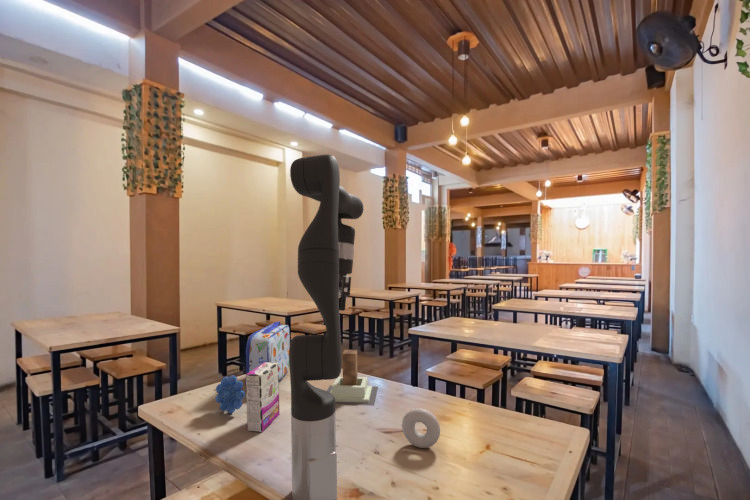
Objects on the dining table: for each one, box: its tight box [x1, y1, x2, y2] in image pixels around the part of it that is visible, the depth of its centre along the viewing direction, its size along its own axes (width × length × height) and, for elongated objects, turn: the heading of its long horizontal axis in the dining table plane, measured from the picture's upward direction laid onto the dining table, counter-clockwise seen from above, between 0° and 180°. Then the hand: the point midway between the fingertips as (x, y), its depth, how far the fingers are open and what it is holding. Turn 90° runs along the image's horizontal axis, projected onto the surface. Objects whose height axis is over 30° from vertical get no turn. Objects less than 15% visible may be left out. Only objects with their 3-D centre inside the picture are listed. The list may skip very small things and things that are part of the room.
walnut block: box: [342, 349, 358, 386], centre depth 128 cm, size 4×4×14 cm
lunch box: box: [244, 320, 291, 385], centre depth 143 cm, size 28×10×22 cm, turn 176°
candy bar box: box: [245, 362, 281, 433], centre depth 109 cm, size 11×5×16 cm, turn 168°
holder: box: [330, 376, 373, 403], centre depth 128 cm, size 14×12×4 cm
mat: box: [326, 384, 379, 407], centre depth 128 cm, size 18×16×1 cm
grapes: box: [215, 375, 246, 414], centre depth 117 cm, size 12×7×12 cm, turn 66°
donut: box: [401, 407, 441, 449], centre depth 95 cm, size 10×4×10 cm, turn 69°
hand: (336, 309), depth 115 cm, fingers open, 8 cm apart
